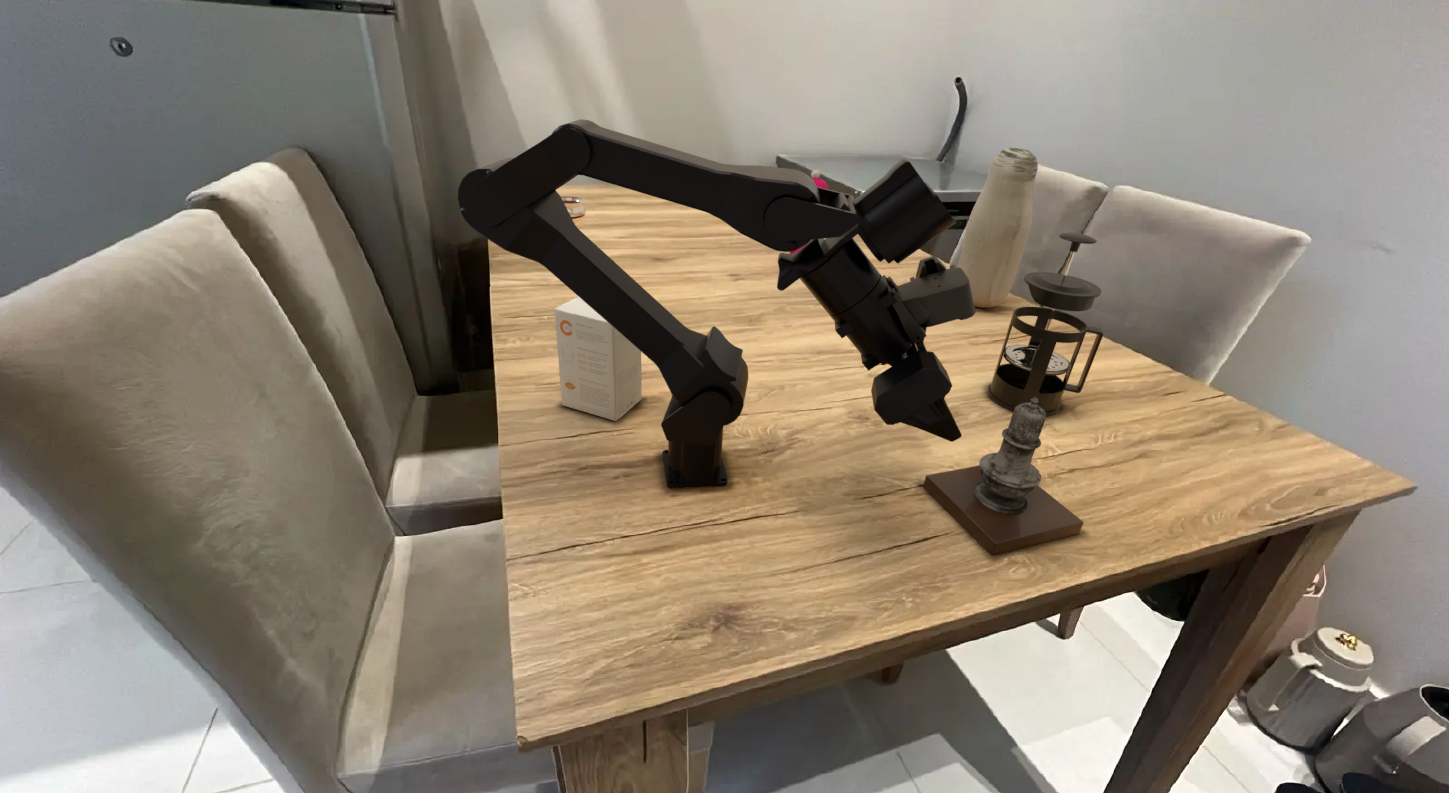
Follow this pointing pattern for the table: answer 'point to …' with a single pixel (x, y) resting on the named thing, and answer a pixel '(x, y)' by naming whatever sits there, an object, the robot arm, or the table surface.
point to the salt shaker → (1013, 462)
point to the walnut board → (997, 528)
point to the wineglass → (575, 208)
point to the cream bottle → (999, 227)
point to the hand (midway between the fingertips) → (947, 412)
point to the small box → (595, 363)
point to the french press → (1046, 339)
